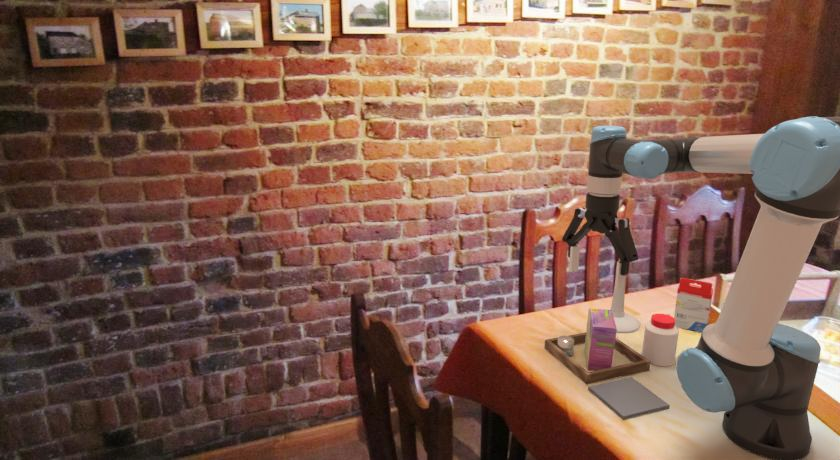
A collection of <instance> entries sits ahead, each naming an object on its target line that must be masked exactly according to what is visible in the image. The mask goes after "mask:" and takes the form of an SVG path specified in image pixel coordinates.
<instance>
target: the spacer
mask: <svg viewBox="0 0 840 460" xmlns="http://www.w3.org/2000/svg"><path fill="white" fill-rule="evenodd" d="M557 338H558V343H557V347H558V348H560V349H561V350H562V351H563V352H565V353H566V354H567V355H568V356H569V357H571V358H572V356H574V348H575V347H574V346H575V345H574V339H573V338H572V337H570V336H569V335H560V336H558V337H557Z"/></svg>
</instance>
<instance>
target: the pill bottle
mask: <svg viewBox="0 0 840 460" xmlns="http://www.w3.org/2000/svg"><path fill="white" fill-rule="evenodd" d="M679 333H680V330H679V327H676V326H675V319H674V316H672V315H669V314H666V313H653V314H652V315H651V318H650V320H649V321H648V322H646V323H645V325H644V333H643V341H642V349H641V353H640V354H641V355H642V356H644V357H645V358H647V359H648V360H649V361H651V364H650V365H654V366H659V367H669V366H671V365H674V363H675V361H676V360H675V359H676V354H677V347H678V341H679V340H678V339H679Z"/></svg>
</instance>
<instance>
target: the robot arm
mask: <svg viewBox="0 0 840 460" xmlns="http://www.w3.org/2000/svg"><path fill="white" fill-rule="evenodd" d="M677 173H678V174H679V173H698V174H699V173H700V174H701V173H706V174H708V173H710V174H713V173H715V174H743V175H744V174H749V175H751V174H752V176H751V180H752V183H753V184H754V186H755V187H756V189H755V192H754V197H755V199H756V200H757V202H758V203H759V205H760V209H759V210H758V213H757V216H756V219H755V221H754V224H753V227H752V229H751V231H750V235H749V237H748V240H747V241H746V245H745V248H744V250H743V252H742V255H741V258H740V260H739V263H738V265H737V268H736V270H735V273H734V276H733V278H732V281H731V284H730V286H729V289H728V292H727V295H726V297H725V299H724V302H723V303H722V304H723V305H722V307H721V310H720V312H719V315H718V317H717V319H716V322H713V323H708V325H707V326H706V327H705V328H704V330H703V332H701V335H700V337H699V340H698V344H697V345H696V346H695V347H689V348H686V349H685V350H683V351H682V352H681V353H680V354H679V355H678V357H677V360H676V373H677V378H678V381H679V383H680V384H681V385H680V386H681V388H682V390H683V391H684V393H685V395H686V396H687V397H688V399H689V400H690V401H691V402H692V403H693V404H694V405H695V406H697V407H698V408H699V409H701V410H703V411H705V412H709V413H714V414H716V413H721V412H724V414H723V419H722V423H721V425H722V430H723V431H724V433H725V435H726V436H727V437H728V438H729V439H730V440H731V441H732V442H733V443H734V444H736V445H737V446H738V447H741V448H742V449H744V450H746V451H748V452H750V453H752V454H754V455H756V456H757V455H758V456H759V457H763V458H766V459H770V460H803V459H804V458H806V457H807V456H808V455H809V454H810V451H811V447H812V442H813V441H812V440H813V436H812V434H811V429H810V422H809V416H808V410H809V405H810V401H811V396H812V392H813V387H814V383H815V379H816V375H817V373H818V372H817V371H818V368H819V364H820V363H821V360H820V357H821V356H820V355H821V351H822V350H821V348H822V347H821V345H820V343H819V342H818V340H817V339H816V338H814V337H813V335H810V334H808V333H807V332H804V331H802V330H800V329H798V328H795V327H793V326H789V325H785V324H783V323H779V322H780V320H781V317H782V315H783V313H784V311H785V309H786V306H787V304H788V302H789V300H790V297H791V295H792V294H793V291H794V288H795V286H796V284H797V282H798V280H799V277H800V275H801V273H802V270H803V268H804V266H805V264H806V262H807V259H808V258H809V255H810V253H811V250H812V249H813V246H814V244H815V241H816V240H817V237H818V235H819V233H820V231H821V228H822V226H823V224H825V223H828V222H831V221H835V220H836V219H838V218H839V217H840V116H821V117H819V116H815V115H814V116H806V117H805V116H804V117H799V118H796V119H789V120H786V121H783V122H780V123H778V124H776V125H774V126H772V127H771V128H769V129H768V130H767V131H766V132H765V133H753V134H751V133H750V134H735V135H734V134H732V135H716V136H715V135H714V136H712V135H711V136H702V137H701V136H688V137H679V138H678V137H677V138H664V139H662V138H660V139H641V140H639V139H633V138H628V137H627V129H626V128H625V127H623V126H618V125H598V126H595V127H593V129H592V130H591V138H590V142H589V157H588V173H587V180H586V181H587V182H586V191H587V193H586V195H585V207H579V208H575V210H574V213H573V217H572V219H571V221H570V223H569V225H568V227H567V228H566V231H565V232H564V234H563V236H562V238H561V241H563V242H565V243H566V244H567V245H568V250H567V256H568V257H567V258H569V263H568V272H570V273H573V272H576V271H579V264H580V255H581V253H580V251H581V245H579V243H580V242H581V241H582V240H583V239H584V237H586V236H587V234H589V232H591V231H592V232H598V233H600V234H602V235H603V234H604V236H605V237H606V238H608V240H609V242H610V245H611V246H612V248H613V249H614V251H615V253H616V255H617V256H618V260H617V261H616V268H615V276H614V277H615V279H614V280H615V282H614V287H613V289H614V288H616V289H618V288H621V287H624V285H625V286H626V280H625V275H626V276H627V275H628V276H629V271H630V265H631V264H630V263H632V262H635V261H638V260H639V255H638V251H637V248H636V244H635V242H634V238H633V235H632V231H631V227H630V228H629V222H630V218H629V217H625V218H618V211H619V209H620V201H621V196H620V193H621V190H622V189H621V187H622V179H623V178H622V177H623V174H625V175H628V176H632V177H635V178H637V179H644V180H645V179H646V180H654V179H657V178H659V176H661V175H666V174H668V175H669V174H677ZM584 218H585V220H586V222H584V224H583V225H582V226H581V228H580V229H579V227H580V225H581V224H582V223H583V220H584ZM578 229H579V230H578ZM619 259H620V261H619Z"/></svg>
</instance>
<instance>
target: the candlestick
mask: <svg viewBox="0 0 840 460" xmlns="http://www.w3.org/2000/svg"><path fill="white" fill-rule="evenodd" d="M631 226H632V223H631V221H629V228H630V229H631ZM618 261H620V259H619V258H618ZM626 279H627V275H625V281H626ZM625 293H626V284H625V285H624V287H621V288H618V289H616V288H614V287H613V294H612V300H611V301H612V302H611V306H610V310H612V313H613V317H614V321H615V324H616V328H617V332H616V334H631V333H635V332H637V331H638V330H640V327H641V323H640V321H639V320H638V319H637V317H635V316H633V315H632V314H631V313H628V312H626V311H625V297H626V296H625Z"/></svg>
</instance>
